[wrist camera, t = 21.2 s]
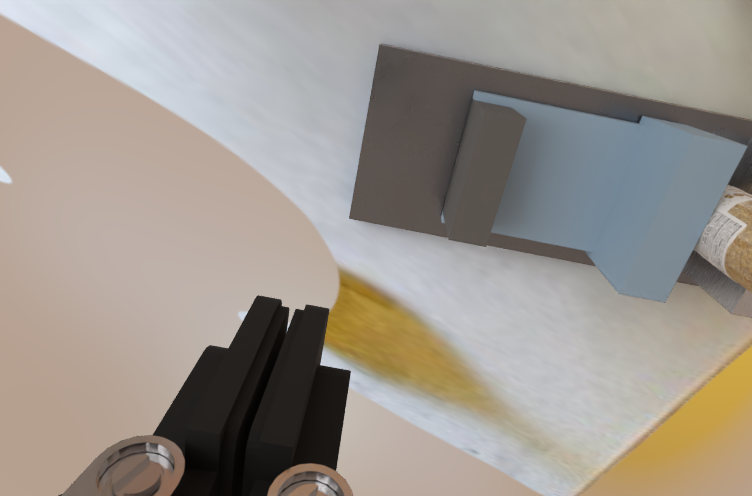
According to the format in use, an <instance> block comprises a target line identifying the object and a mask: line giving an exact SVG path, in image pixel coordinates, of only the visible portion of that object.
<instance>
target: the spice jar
mask: <svg viewBox="0 0 752 496" xmlns="http://www.w3.org/2000/svg"><path fill="white" fill-rule="evenodd" d="M693 250H695V251H696V252H697V253H698V254H700V255H701V256H702V257H703V258H705V259H706V260H707V261H709V262H710V263H711V264H712V265H714V266H715V267H716V268H718V269H719V270H720V271H721V272H723V273H724V274H725V275H727V276H728V277H729V278H730V279H732V280H733V281H735V282H737V283H739V284H740V285H742V286H743V287H744V288H746V289H747V290H749V291H750V292H751V293H752V195H750V194H748V193H746V192H744V191H743V190H741V189H738V188H736V187H734V186H730V185H728V184H727V186H726V188H725V190H724V192H723V194H722V196H721V198H720V200H719V201H718V203H717V205H716V207H715V209H714V211H713V213H712V215H711V217H710V219H709V220H708V222H707V224H706V226H705V228H704V230H703V232H702V234H701V236H700V237H699V239H698V241H697V243H696V245H695V247H694V249H693Z"/></svg>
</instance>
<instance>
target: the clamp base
mask: <svg viewBox="0 0 752 496" xmlns="http://www.w3.org/2000/svg"><path fill="white" fill-rule="evenodd" d="M474 90H477V91H482V92H487V93H492V94H497V95H502V96H506V97H511V98H516V99H521V100H526V101H531V102H536V103H541V104H546V105H551V106H556V107H560V108H565V109H570V110H575V111H580V112H585V113H590V114H595V115H600V116H605V117H610V118H614V119H619V120H624V121H629V122H634V123H640V120H641V118H642V116H646V117H651V118H655V119H660V120H665V121H670V122H675V123H680V124H685V125H689V126H691V127H694V128H697V129H700V130H703V131H706V132H709V133H712V134H715V135H717V136H720V137H723V138H726V139H729V140H732V141H735V142H738V143H741V144H743V145H746V146H748V147H747V148H746V150H745V152H744V154H743V156H742V158H741V160H740V162H739V164H738V165H737V167H736V169H735V171H734V173H733V175H732V177H731V179H730V181H729V183H728V185H730V186H734V187H736V188H738V189H741V190H743V191H744V192H746V193H748V194H750V195H752V120H749V119H744V118H739V117H734V116H729V115H724V114H720V113H715V112H710V111H705V110H700V109H695V108H690V107H686V106H681V105H676V104H671V103H666V102H661V101H656V100H652V99H647V98H642V97H637V96H632V95H627V94H622V93H618V92H613V91H608V90H603V89H598V88H593V87H588V86H584V85H579V84H574V83H569V82H564V81H559V80H554V79H549V78H545V77H540V76H535V75H530V74H525V73H520V72H515V71H511V70H506V69H501V68H496V67H491V66H486V65H481V64H477V63H472V62H467V61H462V60H457V59H452V58H447V57H443V56H438V55H433V54H428V53H423V52H418V51H413V50H408V49H404V48H399V47H394V46H389V45H384V44H380V45H379V51H378V56H377V62H376V68H375V74H374V79H373V85H372V91H371V96H370V102H369V108H368V114H367V119H366V125H365V131H364V136H363V142H362V148H361V154H360V159H359V165H358V171H357V176H356V182H355V188H354V194H353V199H352V205H351V211H350V216H349V219H354V220H359V221H365V222H370V223H375V224H380V225H385V226H390V227H396V228H401V229H406V230H411V231H416V232H422V233H427V234H432V235H437V236H442V237H448V234H447V230H446V225H445V223H442V221H441V215H442V211H443V208H444V204H445V200H446V196H447V193H448V189H449V185H450V181H451V177H452V174H453V170H454V166H455V162H456V158H457V155H458V151H459V147H460V143H461V140H462V136H463V132H464V128H465V124H466V121H467V117H468V113H469V109H470V106H471V102H472V98H473V94H474ZM487 245H489V246H494V247H499V248H505V249H510V250H515V251H520V252H525V253H531V254H536V255H541V256H546V257H551V258H556V259H562V260H567V261H572V262H577V263H582V264H588V265H593V266H596V265H595V264H594V263H593V261H592V260H591V259H590V258H589V256H588V255H587V254H586V253H585V251H584V250H579V249H574V248H569V247H564V246H558V245H553V244H548V243H543V242H538V241H533V240H528V239H522V238H517V237H512V236H507V235H502V234H497V233H490V236H489V239H488V242H487ZM676 282H681V283H686V284H691V285H696V286H700V287H701V288H702V289H704V290H705V291H706V292H707V293H708V294H709V295H710V296H712V297H713V298H714V299H715V300H716V301H717V302H718V303H720V304H721V305H722V306H723V307H724V308H725V309H726V310H728V311H729V312H730V313H731V314H734V315H739V316H745V317H750V318H752V293H751V292H750V291H749V290H747V289H746V288H744V287H743V286H742V285H740V284H739V283H737V282H735V281H733V280H732V279H730V278H729V277H728V276H727V275H725V274H724V273H723V272H721V271H720V270H719V269H718V268H716V267H715V266H714V265H712V264H711V263H710V262H709V261H707V260H706V259H705V258H703V257H702V256H701V255H700V254H698V253H697V252H696V251H695V250H693V251H692V253H691V255H690V256H689V258H688V260H687V262H686V264H685V266H684V268H683V270H682V272H681V273H680V275H679V277H678V279H677V281H676Z"/></svg>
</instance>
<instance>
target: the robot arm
mask: <svg viewBox="0 0 752 496" xmlns="http://www.w3.org/2000/svg"><path fill="white" fill-rule="evenodd" d="M328 315H329V309H328V308H323V307H318V306H312V305H306V306H305V309H304V310H299V309H296V310H295V312H294V315H293V318H292V320H291V323H290V326H289V328H288V331H287V325H288V316H289V308H288V307H283V306H282V301H281V300H280V299H275V298H269V297H264V296H257V297H256V298H255V300H254V302H253V304H252V306H251V308H250V310H249V311H248V313H247V315H246V317H245V319H244V321H243V322H242V325H241V326H240V328H239V330H238V332H237V333H236V335H235V337H234V339H233V341H232V343H231V345H230V346H229V348H222V347H217V346H211V345H210V346H208V347H207V348H206V349H205V350H204V352H203V354H202V355H201V357H200V358H199V360H198V362H197V363H196V365H195V367H194V368H193V370H192V372H191V373H190V375H189V376H188V378H187V380H186V381H185V383H184V385H183V386H182V388H181V390H180V391H179V393H178V395H177V396H176V398H175V399H174V401H173V403H172V404H171V406H170V408H169V409H168V411H167V412H166V414H165V416H164V417H163V419H162V421H161V422H160V424H159V426H158V427H157V429H156V431H155V432H154V434H153V435H147V436H136V437H132V438H129V439H125V440H122V441H120V442H118V443H116V444H114V445H112V446H111V447H109V448H107V449H106V450H105V451H104V452H103V453H101V454H100V455H99V456H98V457H97V458H96V459H95V460H94V461H93V462H92V463H91V464H90V465H89V466H88V467H87V468H86V470H85V471H84V472H83V473H82V474H81V475H80V476H79V477H78V478H77V479H76V481H74V483H73V484H72V485H71V486H70V487H69V488H68V489H67V490H66V491H65V492H64V493H63V494H61V495H59V496H353V493H352V490H351V488H350V486H349V485H348V483H347V481H346V480H345V479H344V478H343V477H342V476H341V475H340V474H339V473H338V472H336V468H337V461H338V454H339V447H340V441H341V434H342V427H343V420H344V414H345V407H346V400H347V394H348V387H349V380H350V373H351V371H349V370H343V369H338V368H332V367H327V366H321V365H320V362H321V356H322V350H323V345H324V339H325V333H326V327H327V321H328ZM286 332H287V334H286Z"/></svg>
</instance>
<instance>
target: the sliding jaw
mask: <svg viewBox="0 0 752 496" xmlns="http://www.w3.org/2000/svg"><path fill="white" fill-rule="evenodd" d="M747 147H748V146H746V145H743V144H741V143H738V142H735V141H732V140H729V139H726V138H723V137H720V136H717V135H715V134H712V133H709V132H706V131H703V130H700V129H697V128H694V127H691V126H689V125H685V124H680V123H675V122H670V121H665V120H660V119H655V118H651V117H646V116H642V118H641V120H640V123H634V122H629V121H624V120H619V119H614V118H610V117H605V116H600V115H595V114H590V113H585V112H580V111H575V110H570V109H565V108H560V107H556V106H551V105H546V104H541V103H536V102H531V101H526V100H521V99H516V98H511V97H506V96H502V95H497V94H492V93H487V92H482V91H477V90H474V94H473V98H472V102H471V106H470V109H469V113H468V117H467V121H466V124H465V128H464V132H463V136H462V140H461V143H460V147H459V151H458V155H457V158H456V162H455V166H454V170H453V174H452V177H451V181H450V185H449V189H448V193H447V196H446V200H445V204H444V208H443V211H442V215H441V221H442V223H445V225H446V230H447V234H448V239H449V240H453V241H458V242H464V243H469V244H474V245H479V246H484V247H486V245H487V242H488V239H489V236H490V233H497V234H502V235H507V236H512V237H517V238H522V239H528V240H533V241H538V242H543V243H548V244H553V245H558V246H564V247H569V248H574V249H579V250H584V251H585V253H586V254H587V255H588V256H589V258H590V259H591V260H592V261H593V263H594V264H595V265H596V266H597V268H598V269H599V270H600V271H601V272H602V274H603V275H604V276H605V277H606V279H607V280H608V281H609V282H610V284H611V285H612V286H613V287H614V289H615V290H616V291H617V292H618V294H622V295H628V296H633V297H638V298H643V299H649V300H654V301H659V302H664V303H665V302H666V300H667V298H668V296H669V294H670V292H671V291H672V289H673V287H674V285H675V283H676V281H677V279H678V277H679V275H680V273H681V272H682V270H683V268H684V266H685V264H686V262H687V260H688V258H689V256H690V255H691V253H692V251H693V249H694V247H695V245H696V243H697V241H698V239H699V237H700V236H701V234H702V232H703V230H704V228H705V226H706V224H707V222H708V220H709V219H710V217H711V215H712V213H713V211H714V209H715V207H716V205H717V203H718V201H719V200H720V198H721V196H722V194H723V192H724V190H725V188H726V186H727V184H728V183H729V181H730V179H731V177H732V175H733V173H734V171H735V169H736V167H737V165H738V164H739V162H740V160H741V158H742V156H743V154H744V152H745V150H746V148H747Z"/></svg>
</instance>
